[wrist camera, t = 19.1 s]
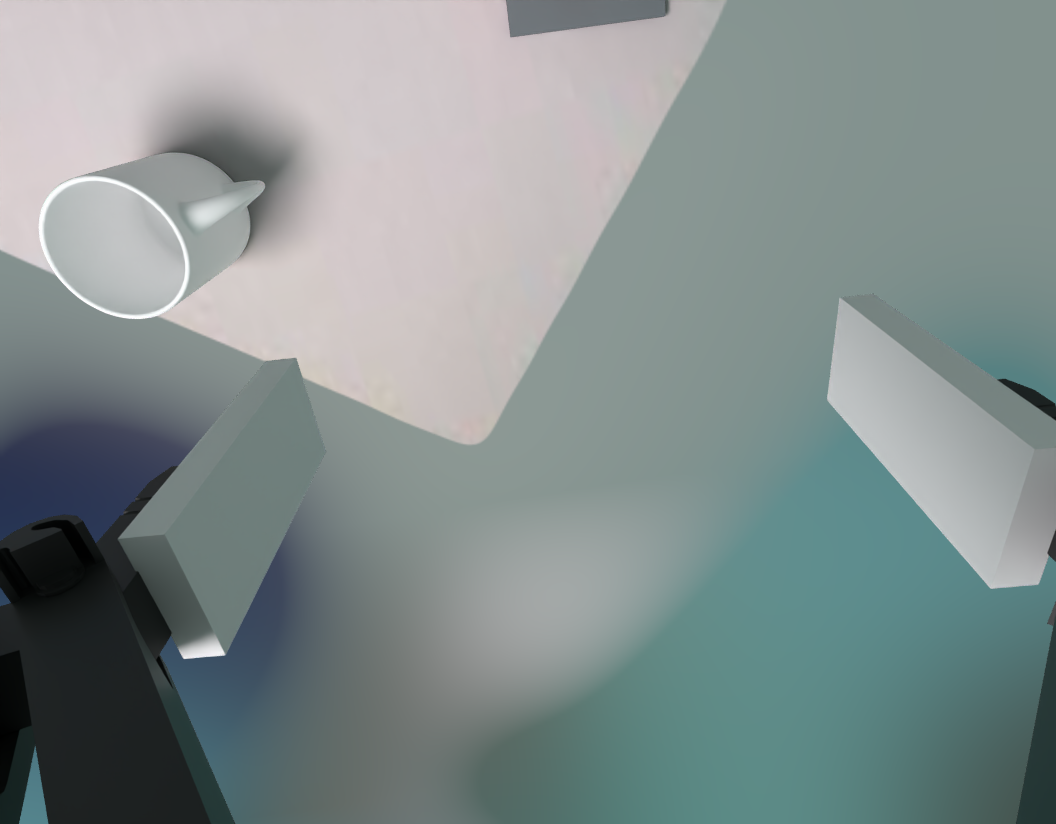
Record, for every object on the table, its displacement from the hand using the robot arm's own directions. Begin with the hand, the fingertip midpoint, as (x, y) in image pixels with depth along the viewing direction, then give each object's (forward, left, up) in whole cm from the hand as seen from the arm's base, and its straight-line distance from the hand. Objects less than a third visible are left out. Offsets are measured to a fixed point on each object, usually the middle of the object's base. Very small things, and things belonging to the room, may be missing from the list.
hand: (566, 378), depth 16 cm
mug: (-24, 0, -35) cm, 42 cm away
